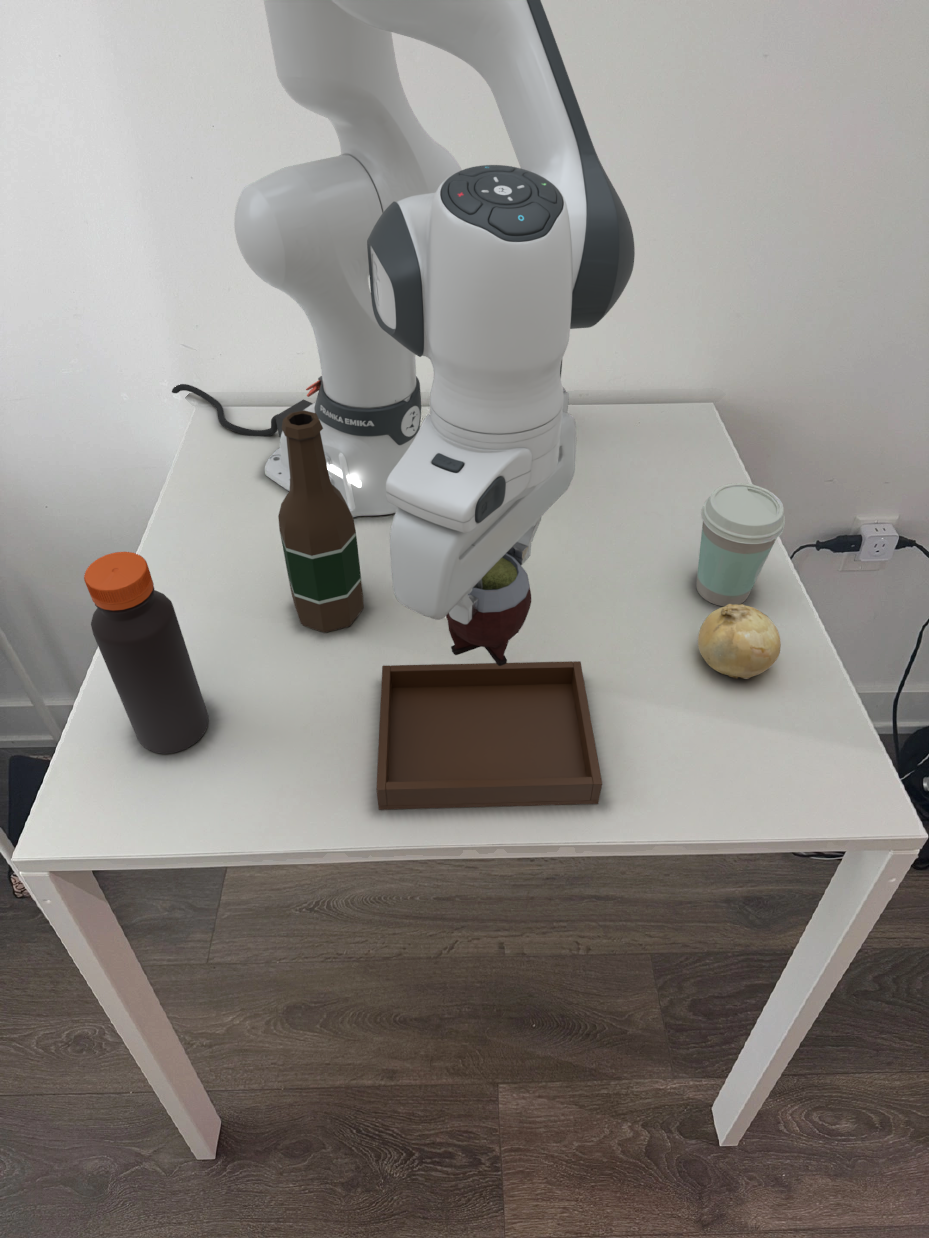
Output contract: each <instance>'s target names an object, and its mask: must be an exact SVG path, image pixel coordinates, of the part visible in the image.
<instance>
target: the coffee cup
mask: <svg viewBox="0 0 929 1238" xmlns="http://www.w3.org/2000/svg"><path fill="white" fill-rule="evenodd" d="M700 510H701V511H700V516H701V520H702V527H701V536H700V546H699V554H698V556H699V557H698V563H697V574H696V583H695V587H696V588H695V589H696V591H697V593H698V595H700V597H701V598H703V599H704V600H705V601H706V602H708V603H711V604H713V605H716V606H719V607H725V606H726V605H728V604H732V605H735V604H738V605H740V604H743V603H744V602H746V601H747V599H748V598H749V595H750V593H751V592H752V590H753V588H754V586H755V584H756V582H757V579H758V578H759V576H760V573H761V571H762V569H763V567H764V565H765V563H766V561H767V559H768V557H769V555H770V553H771V551H772V549H773V547H774V545H775V542H776V541H777V539H778V538H779V537H780V536H781V535H782V534H783V532H784V530H785V523H786V516H785V507H784V504H783V502H782V501H781V499H780V498H779V497H778V496H777V495H776V494H774V492H772V491H771V490H768V489H767V488H765V487H762V486H759V485H756V484H753V483H745V482H731V483H727V484H723V485H720V486H719V487H717V488H715V489H714V490H713V491H712V493H711V494H710V495H709V497H707V499H706V500H705V501H704V504H703V505H702V508H701V509H700Z"/></svg>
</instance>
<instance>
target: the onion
mask: <svg viewBox="0 0 929 1238" xmlns="http://www.w3.org/2000/svg"><path fill="white" fill-rule="evenodd" d="M699 628H700V629H699V632H698V634H697V635H698V636H697V647H698V650H699V653H700V655H701V657H702V658H703V660H704V661H705V662H706V664H707V665H708V666H709V667H710V668H711V669H713V670H714V671H715V672H718V673H720V674H722V675H723V676H724V675H726V676H728V677H729V678H733V679H736V680H737V679H738V678H741V679H744V680H749V679H750V678H752V677H755V676H758V675H761V674H762V673H764V672H765V671H767V670H768V669H771V668H772V666H773V665H774V664H775V663H776V662H777V660H778V658H779V656H780V653H781V648H782V647H781V645H782V643H781V636H780V633H779V630H778V628H777V625H775V622H773V621H772V620H771V618H770V617H769V616H768V615H767V614H765V613H764V612H761V610H759V609H757V608H755V607H752V606H749V605H745V604H743V603H741V604H739V605H738V604H735V605H732V604H728V605H726V606H721V607H718V608H716V609H715V610H713V611H712V612H710V614H708V616H707V617H706V618H705V619H704V621H703V623H702V625H701V626H700V627H699Z"/></svg>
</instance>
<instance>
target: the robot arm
mask: <svg viewBox="0 0 929 1238" xmlns="http://www.w3.org/2000/svg"><path fill="white" fill-rule="evenodd" d="M263 5H264V11H265V16H266V22H267V27H268V33H269V38H270V44H271V49H272V55H273V60H274V67H275V71H276V76H277V79H278V80H279V83H280V85H281V86H282V88H283V89H284V91H285V92H286V94H287V95H288V96H289V97H290V99H292V100H293V102H295V103H296V104H298V105H299V106H301V107H302V108H304V109H306V110H308V111H310V112H312V113H314V114H317V115H319V116H322V117H324V118H327V119H328V121H329V122H330V123H331V125H332V127H333V129H334V131H335V133H336V135H337V139H338V142H339V147H340V154H339V155H335V156H331V157H326V158H321V159H317V160H313V161H312V160H311V161H308V162H303V163H298V164H294V165H287V166H285V167H284V166H283V167H282V168H280V169H278V170H275V171H273V172H271V173H269V174H267V175H264V176H262V177H261V178H259V179H257V180H255V181H253V182H251V183H250V184H247V185H246V186H245V187H243V188H242V190H241V192H240V194H239V195H238V199H237V202H236V206H235V211H234V220H233V221H234V222H233V223H234V224H233V225H234V227H233V228H234V234H235V239H236V243H237V246H238V248H239V251H240V254H241V255H242V258H243V260H244V261H245V263H246V264H247V265H248V267H249V268H250V270H252V272H253V273H254V274H255V275H256V276H257V277H258V278H259V279H260V280H262V282H264V283H265V284H267V285H269V286H270V287H273V288H275V289H277V290H279V291H281V292H282V293H284V294H286V295H287V296H289V297H290V298H291V299H292V300H294V302H295V303H296V304H297V305H298V306H299V307H300V309H301V310H302V311H303V312H304V314H305V316H306V318H307V319H308V321H309V323H310V326H311V328H312V331H313V334H314V338H315V339H314V340H315V344H316V349H317V353H318V359H319V365H320V371H321V375H320V376H319V377H318V378H317V381H315V382H314V383H312V384H310V385H309V386H307V387H306V388H305V391H308V393H307V394H306V397H307V398H309V397H311V396H313V395H314V394H316V393H317V395H316V399H315V402H311V401H308V400H306V399H301V400H300V401H298V402H296V403H294V404H293V405H292V406H289V407H287V408H286V409H284V410H282V411H281V412H279V413H277V414H275V415H273V417H272V418H271V420H270V428H267V429H252V428H251V429H250V428H245V427H242V426H238V425H236V424H234V423H232V422H230V421H228V420H227V419H226V417H225V412H224V408H223V406H222V404H221V402H220V401H219V400H217V399H216V398H214V397H213V396H211V395H210V394H209V393H207V392H205V391H204V390H202V389H201V388H199V387H196V386H193V385H191V384H188V383H180V385H179V384H177V385H175V386H176V387H175V386H173V388H172V389H171V393H172V394H178V393H180V392H182V391H183V392H184V391H185V392H190V393H192V394H194V395H197V396H198V397H200V398H201V399H202V400H205V401H206V402H208V403H209V404H211V406H213V407H214V408H215V409H216V415H217V420H218V422H219V424H220V425H221V426H222V427H224V428H225V429H227V430H229V431H231V432H233V433H237V434H240V435H243V436H251V437H271V436H273V435H275V434H276V433H278V434H277V435H278V437H279V438H280V440H279V447H278V448H277V449H276V450H274V452H273V453H271V455H270V456H269V457H268V459H267V460H266V462H265V465H264V475H265V476H266V477H267V478H269V479H270V480H272V481H273V482H275V483H276V484H278V485H279V486H281V487H282V488H283V489H285V490H286V491H288V492H289V491H290V470H289V460H288V449H287V439H286V436H285V435H284V432H283V430H282V422H283V419H284V418H285V417H286V416H288V415H289V414H290V413H293V412H298V411H303V410H305V411H309V412H313V413H316V414H317V416H318V418H319V420H320V422H321V425H322V427H323V429H322V430H321V431H320V434H321V439H322V444H323V449H324V454H325V459H326V464H327V468H328V473H329V478H330V481H331V484H332V485H333V486H335V487H336V488H337V489H338V490H339V491H340V492H341V494H342V496H343V498H344V500H345V501H346V503H347V506H348V508H349V510H350V512H351V514H352V516H353V518H356V517H363V516H370V517H371V516H385V515H392V514H394V516H393V518H392V522H391V526H390V531H389V532H390V533H389V557H390V570H391V581H392V588H393V589H392V590H393V593H394V597H395V599H396V600H397V602H399V603H400V604H401V605H402V606H404V607H405V608H407V609H409V610H411V611H413V612H415V613H417V614H419V615H422V616H424V617H426V618H429V619H433V620H435V621H440V620H443V619H444V618H445V617H446V615H447V614H448V613H449V615H450V617H451V618H452V619H454V620H456V621H458V622H460V623H463V624H468V623H469V622H470V620H471V619H472V618H473V617H474V616H475V615H476V614H477V613H478V605H479V598H477V597H475V596H472V595H468V594H469V593H470V592H471V591H472V588H473V587H474V586H475V585H476V584H477V583H478V582H479V581H480V580H481V579H482V578H483V577H484V575H485V574H486V573H487V572H488V571H489V570H490V569H491V568H492V567H493V566H494V565H495V564H496V563H497V562H498V561H499V560H500V559H501V558H502V557H503V556H504V555H505V554H508V555H510V556H512V557H514V558H515V559H516V560H517V561H518V563H519V564H520V565H521V566H522V565H523V564H524V563H525V562H526V561H528V559H530V557H531V555H532V543H533V541H534V539H535V536H536V533H537V531H538V528H539V525H540V524H541V521H542V516H544V515H545V514H546V512H547V511H549V509H550V508H552V506H554V504H555V503H556V502H557V501H558V500H559V499H560V498H561V497H562V496H563V495H564V494H565V493H566V492H567V491H568V489H570V486H571V485H572V481H573V479H574V476H575V471H576V461H577V460H576V459H577V425H576V420H575V417H574V416H573V415H572V414H570V413H568V412H569V401H570V395H569V392H568V391H567V390H566V388H565V387H564V385H563V382H562V377H561V378H560V366H561V362H562V363H563V358H564V356H565V355H566V354H565V353H566V351H567V349H568V346H569V341H570V336H571V334H570V333H571V330H574V329H589V328H593V327H594V326H596V325H597V324H598V323H599V322H600V321H601V320H602V319H603V318H605V316H606V315H607V314H608V313H609V312H610V311H611V309H612V308H614V306H615V304H616V303H617V302H618V300H619V299H620V297H621V295H622V294H623V292H624V291H625V289H626V287H627V285H628V283H629V281H630V279H631V276H632V273H633V270H634V265H635V255H636V253H635V252H636V251H635V250H636V249H635V238H634V232H633V227H632V223H631V221H630V218H629V214H628V212H627V210H626V208H625V206H624V203H623V201H622V200H621V197H620V196H619V194H618V192H617V190H616V189H615V186H614V185H613V183H612V182H611V180H610V178H609V176H608V174H607V173H606V170H605V168H604V167H603V164H602V162H601V161H600V158H599V156H598V154H597V151H596V148H595V145H594V144H593V141H592V138H591V135H590V132H589V130H588V126H587V124H586V121H585V119H584V116H583V112H582V110H581V108H580V105H579V102H578V99H577V96H576V94H575V91H574V88H573V85H572V83H571V82H572V81H571V79H570V77H569V74H568V71H567V68H566V66H565V63H564V60H563V57H562V54H561V52H560V49H559V46H558V43H557V40H556V38H555V35H554V33H553V29H552V27H551V24H550V22H549V19H548V16H547V13H546V11H545V8H544V6H543V3H542V1H541V0H263ZM393 34H397V35H400V36H404V37H408V38H410V39H415V40H417V41H420V42H422V43H426V44H428V45H431V46H433V47H435V48H438V49H440V50H442V51H444V52H447V53H449V54H451V55H453V56H455V57H456V58H458V59H460V60H461V61H463V62H465V63H466V64H467V65H469V66H470V67H471V68H473V70H474V71H476V72H477V73H478V74H479V75H480V76H481V77H482V79H483V80H484V81H485V82H486V84H487V86H488V87H489V89H490V91H491V93H492V95H493V97H494V100H495V103H496V105H497V108H498V110H499V114H500V116H501V119H502V122H503V124H504V127H505V129H506V132H507V135H508V138H509V140H510V143H511V146H512V148H513V151H514V154H515V156H516V159H517V162H518V164H519V167H515V166H512V165H506V164H505V165H502V164H483V165H482V164H481V165H476V166H471V167H467V168H463V169H462V167H461V166H460V164H459V162H458V160H457V159H456V158H455V157H454V156H453V154H452V153H451V151H449V150H448V149H447V148H446V147H444V146H443V145H442V144H440V143H439V142H437V141H436V140H435V139H434V138H433V137H432V136H431V135H430V134H429V133H428V132H427V131H426V130H425V128H424V127H423V126H422V124H421V123H420V121H419V120H418V118H417V116H416V114H415V112H414V111H413V109H412V106H411V105H410V102H409V99H408V97H407V95H406V93H405V90H404V87H403V84H402V80H401V77H400V73H399V69H398V65H397V60H396V58H397V57H396V52H395V46H394V40H393ZM416 356H417V357H419V358H421V357H426V358H427V359H429V360H430V363H431V365H432V369H433V377H432V378H433V379H432V383H431V389H430V393H429V414H427V415H426V416H425V418H424V419H423V420H422V422H421V419H422V393H421V383H420V379H419V378H418V376H417V363H416V361H417V359H416ZM472 544H473V545H475V546H473V545H472Z"/></svg>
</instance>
